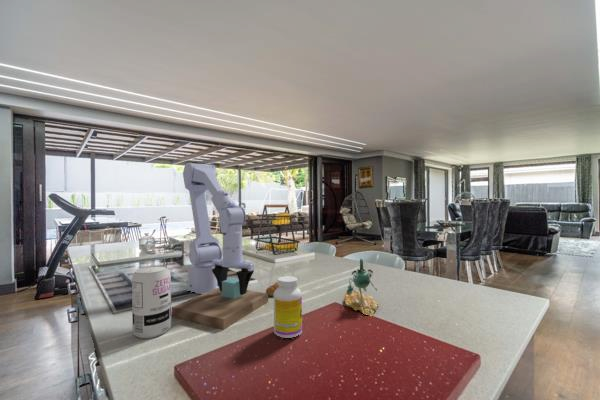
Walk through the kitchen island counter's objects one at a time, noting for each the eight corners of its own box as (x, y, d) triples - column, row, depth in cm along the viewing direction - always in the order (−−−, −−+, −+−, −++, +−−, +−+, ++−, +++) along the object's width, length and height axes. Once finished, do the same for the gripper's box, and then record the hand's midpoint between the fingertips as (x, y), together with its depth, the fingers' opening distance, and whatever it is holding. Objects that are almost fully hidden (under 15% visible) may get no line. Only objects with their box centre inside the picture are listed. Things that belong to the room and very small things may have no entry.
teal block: (222, 304, 85) (222, 281, 85) (232, 299, 89) (231, 277, 89) (234, 307, 83) (234, 283, 83) (243, 302, 87) (243, 279, 87)
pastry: (273, 299, 90) (272, 287, 90) (261, 294, 95) (261, 282, 95) (296, 292, 96) (296, 281, 96) (284, 288, 101) (284, 277, 101)
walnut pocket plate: (171, 316, 77) (171, 307, 77) (222, 293, 95) (222, 285, 95) (223, 329, 69) (223, 319, 69) (268, 301, 87) (268, 293, 87)
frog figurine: (368, 293, 94) (370, 250, 92) (386, 324, 76) (389, 270, 74) (339, 294, 94) (340, 250, 92) (351, 324, 76) (353, 271, 74)
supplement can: (142, 324, 72) (141, 265, 72) (176, 323, 73) (175, 264, 73) (125, 340, 64) (124, 274, 64) (163, 338, 65) (162, 273, 65)
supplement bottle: (305, 338, 64) (304, 281, 64) (275, 341, 63) (275, 284, 63) (298, 325, 71) (298, 274, 71) (272, 328, 70) (271, 275, 69)
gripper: (204, 247, 85) (205, 292, 86) (243, 251, 79) (244, 300, 79) (220, 244, 92) (221, 286, 92) (258, 247, 85) (258, 292, 86)
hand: (233, 292), depth 86 cm, fingers open, 7 cm apart
